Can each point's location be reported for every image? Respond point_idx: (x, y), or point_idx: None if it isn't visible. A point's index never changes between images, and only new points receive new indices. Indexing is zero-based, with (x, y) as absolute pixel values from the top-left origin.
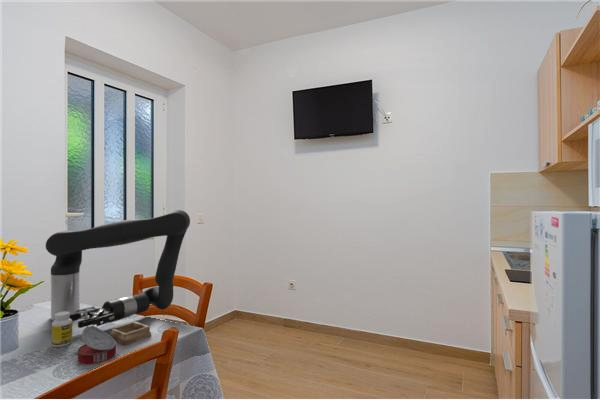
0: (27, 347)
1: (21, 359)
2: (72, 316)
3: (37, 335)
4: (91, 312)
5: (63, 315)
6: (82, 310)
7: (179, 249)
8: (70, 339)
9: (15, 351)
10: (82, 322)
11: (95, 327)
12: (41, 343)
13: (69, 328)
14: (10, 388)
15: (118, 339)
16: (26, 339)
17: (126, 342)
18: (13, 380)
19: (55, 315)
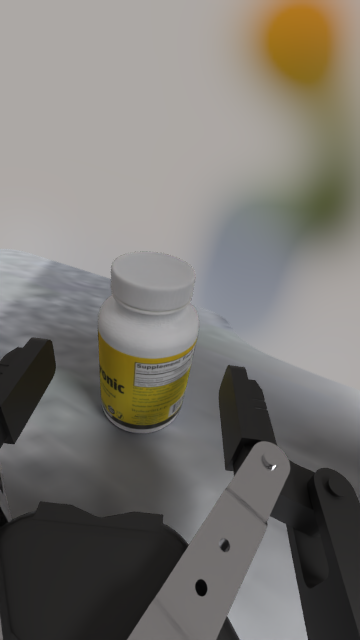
0: (219, 344)
1: None
2: (231, 406)
3: (331, 409)
4: (141, 540)
5: (116, 260)
6: (327, 532)
7: None
8: (102, 399)
9: (213, 324)
10: (15, 350)
11: None
12: (220, 374)
13: (99, 349)
14: (23, 255)
15: None
16: (305, 374)
17: None
18: (48, 266)
19: (156, 253)
